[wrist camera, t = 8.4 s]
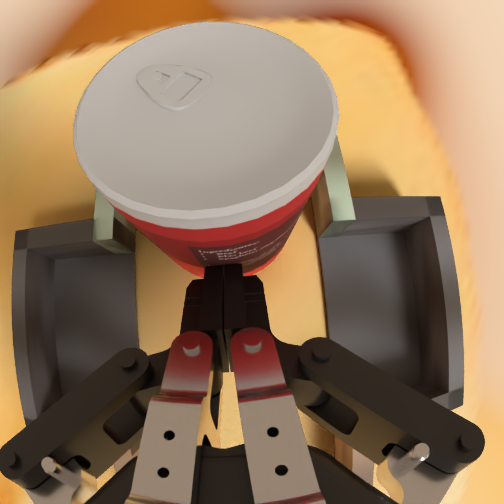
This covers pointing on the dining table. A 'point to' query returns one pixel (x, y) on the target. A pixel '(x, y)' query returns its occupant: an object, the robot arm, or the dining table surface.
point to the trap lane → (334, 282)
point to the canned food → (209, 140)
